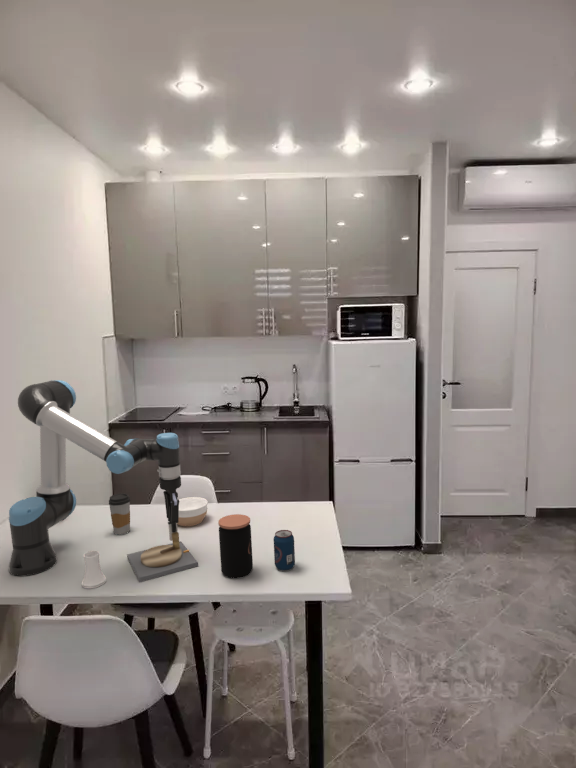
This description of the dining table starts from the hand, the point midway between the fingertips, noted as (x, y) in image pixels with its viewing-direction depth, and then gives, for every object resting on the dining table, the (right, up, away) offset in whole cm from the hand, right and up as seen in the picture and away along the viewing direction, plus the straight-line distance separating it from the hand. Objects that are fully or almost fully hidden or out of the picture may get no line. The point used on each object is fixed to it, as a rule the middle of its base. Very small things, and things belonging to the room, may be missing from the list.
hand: (173, 539), depth 185 cm
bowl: (0, -2, +32) cm, 32 cm away
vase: (-22, -9, -17) cm, 30 cm away
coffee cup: (-26, -4, +24) cm, 36 cm away
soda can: (+40, -6, -12) cm, 43 cm away
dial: (-3, -5, -5) cm, 8 cm away
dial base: (-3, -7, -5) cm, 9 cm away
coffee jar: (+24, -7, -14) cm, 29 cm away
